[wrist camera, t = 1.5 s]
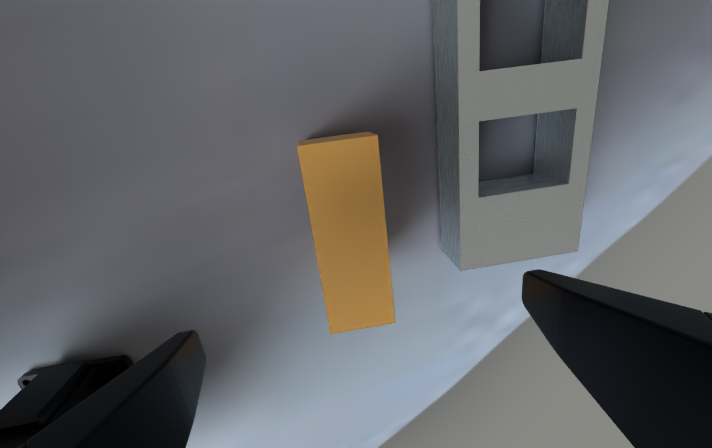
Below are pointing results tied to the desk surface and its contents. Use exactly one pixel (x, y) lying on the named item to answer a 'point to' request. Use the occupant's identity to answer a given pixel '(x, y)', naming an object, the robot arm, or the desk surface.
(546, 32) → the rail
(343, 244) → the clip
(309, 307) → the desk surface
